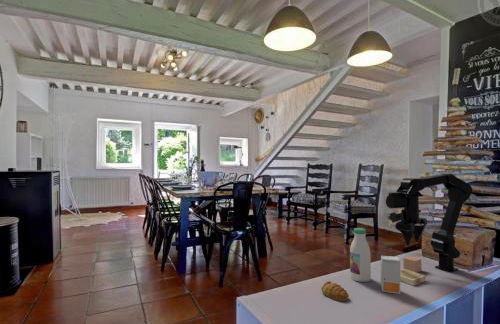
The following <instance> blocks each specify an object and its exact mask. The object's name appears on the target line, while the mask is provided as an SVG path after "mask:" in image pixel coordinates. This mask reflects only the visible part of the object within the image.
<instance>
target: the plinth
mask: <svg viewBox="0 0 500 324" xmlns="http://www.w3.org/2000/svg"><path fill="white" fill-rule="evenodd" d="M426 276H427V275H424V274H422V273H419V272H413V271H410V270H406V269H404V268H400V283H404V284H407V285H410V286H416V285H418V284H421V283H423V282H426V279H427V277H426Z"/></svg>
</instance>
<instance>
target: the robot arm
mask: <svg viewBox="0 0 500 324" xmlns="http://www.w3.org/2000/svg"><path fill="white" fill-rule="evenodd" d="M437 185H443V188H445V189H446V190H447V197H448V204H447V207H446V208H445V209H446V210H445V213H444V217H443V219H442V222H441V225H440V228H439V230H437V232H436V231H433V232H432V234H431V238H430V239H429V240H430V245H431V247H432V250H433V253H436V254H438V265H435V266H434V267H435V269H440V270H443V271H446V272H449V273H452V272H454V271H458V270H459V268H458V267H455V259H457V258H460V255H461V252H460V250H458V248H457V247H456V239H455V236H454V233H455V229H456V226H457V224H458V220H459V217H460V215H461V214H460V213H461V210H462V208H463V204H464V203H465V202H466V201H468V200H469V199H470V197H471V195H472V193H473V188H472V186H471V184H469V183H468V182H466V181H465V180H462V179H461V178H459V177H456V176H455V175H454V174H452V173H441V174H437V175H430V176H427V177H421V178H412V177H411V178H409V177H405V178H402V179H401V181H400V184H399V186H397V189H396V190H395V192H394V191H393V192H391V191H390V192H388V195H387V196H386V199H385V204H386V206H387V208H389V209H401V211H400V212H398V213H396V212H395V211H394V212H391V213H389V218H388V219H389V220H391V223H395V222H396V223H395V224H394V225H395V230H397V231H399V232H400V233H401V235H402V237H403V240H404V243H405V245H406V246H409V247H410V245H411V243H412V240H413V237H414V241H415V242H419V241H420V238H421V236H422V235H423V232H424V231H425V228H426V227H427V225H428V220H427V218H425V217H420V213H422V212H421V211H422V210H421V209H420V201H419V198H420V197H421V198H422V197H424V195H423V193H421V192H420V191H423V190H424V189H426V188H427V187H433V186H437Z"/></svg>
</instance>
